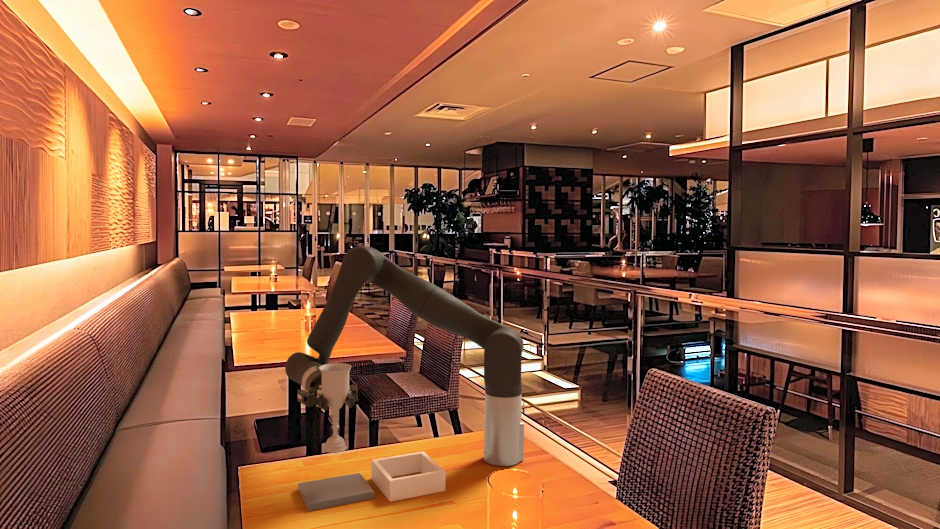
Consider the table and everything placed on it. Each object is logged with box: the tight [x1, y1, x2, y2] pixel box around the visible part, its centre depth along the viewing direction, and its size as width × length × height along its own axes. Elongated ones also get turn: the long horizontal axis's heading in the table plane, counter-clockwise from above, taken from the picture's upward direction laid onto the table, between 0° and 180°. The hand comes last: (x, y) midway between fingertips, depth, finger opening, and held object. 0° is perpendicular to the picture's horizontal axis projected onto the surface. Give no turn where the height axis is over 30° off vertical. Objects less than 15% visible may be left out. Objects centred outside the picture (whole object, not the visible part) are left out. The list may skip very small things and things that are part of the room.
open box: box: [370, 450, 447, 502], centre depth 138 cm, size 13×13×4 cm
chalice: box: [319, 362, 352, 454], centre depth 132 cm, size 7×7×18 cm
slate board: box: [297, 472, 375, 512], centre depth 133 cm, size 14×11×2 cm
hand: (338, 404), depth 129 cm, fingers closed on chalice, 4 cm apart
